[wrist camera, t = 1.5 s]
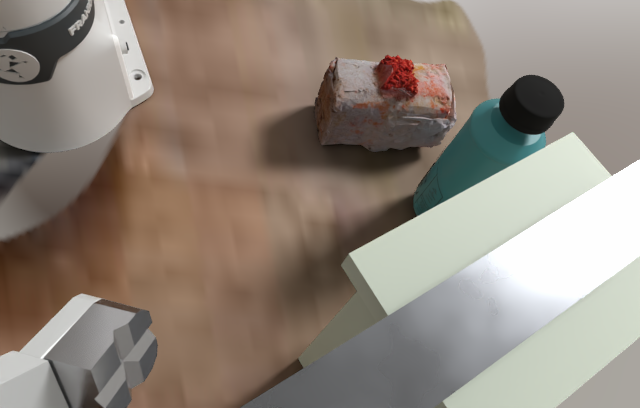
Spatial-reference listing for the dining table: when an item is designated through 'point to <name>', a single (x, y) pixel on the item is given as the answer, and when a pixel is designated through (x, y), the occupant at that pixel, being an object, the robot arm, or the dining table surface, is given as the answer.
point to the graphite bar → (476, 310)
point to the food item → (385, 104)
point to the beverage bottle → (492, 140)
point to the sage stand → (474, 243)
